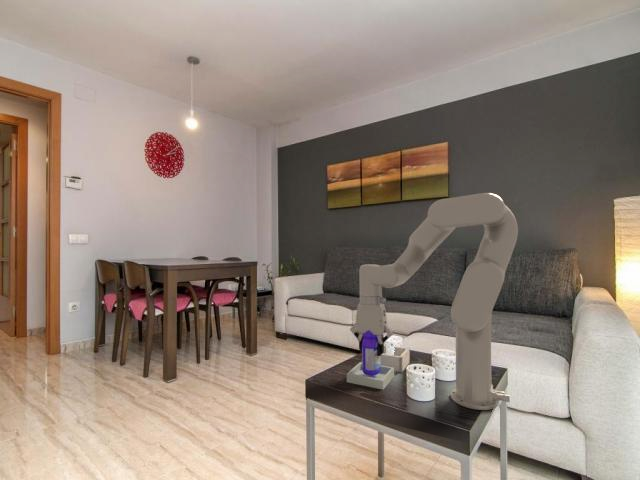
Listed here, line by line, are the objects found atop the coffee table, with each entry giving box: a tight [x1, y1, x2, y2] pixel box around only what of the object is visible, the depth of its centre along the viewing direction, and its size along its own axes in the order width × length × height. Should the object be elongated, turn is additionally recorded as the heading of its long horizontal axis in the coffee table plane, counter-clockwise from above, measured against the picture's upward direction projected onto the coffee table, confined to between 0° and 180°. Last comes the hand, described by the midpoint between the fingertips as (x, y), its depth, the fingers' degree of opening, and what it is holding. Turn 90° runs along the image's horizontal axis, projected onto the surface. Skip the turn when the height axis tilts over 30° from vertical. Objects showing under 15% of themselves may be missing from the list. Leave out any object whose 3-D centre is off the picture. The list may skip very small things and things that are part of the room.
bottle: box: [361, 330, 381, 376], centre depth 115 cm, size 7×6×17 cm
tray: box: [346, 361, 395, 390], centre depth 115 cm, size 13×13×3 cm
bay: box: [380, 344, 411, 374], centre depth 128 cm, size 12×12×6 cm
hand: (371, 353), depth 115 cm, fingers closed on bottle, 5 cm apart
